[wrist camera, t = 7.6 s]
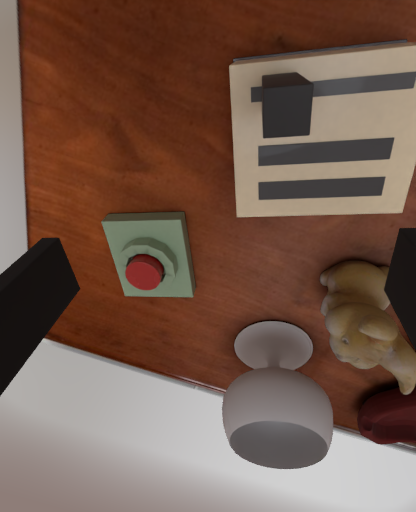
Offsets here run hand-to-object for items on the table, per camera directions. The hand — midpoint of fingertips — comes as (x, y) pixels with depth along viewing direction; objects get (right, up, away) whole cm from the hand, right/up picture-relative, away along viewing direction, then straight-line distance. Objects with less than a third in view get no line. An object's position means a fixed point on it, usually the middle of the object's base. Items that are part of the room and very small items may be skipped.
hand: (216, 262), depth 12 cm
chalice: (+10, -14, +37) cm, 41 cm away
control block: (-8, +1, +30) cm, 31 cm away
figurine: (+17, -2, +28) cm, 33 cm away
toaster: (+10, +13, +18) cm, 25 cm away
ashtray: (+35, -23, +39) cm, 57 cm away
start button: (-8, -1, +27) cm, 28 cm away
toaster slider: (+5, +12, +10) cm, 16 cm away
